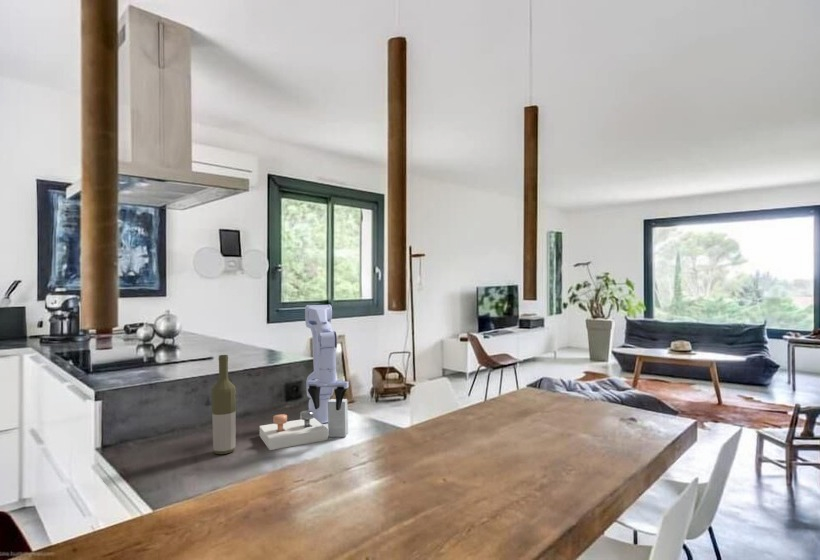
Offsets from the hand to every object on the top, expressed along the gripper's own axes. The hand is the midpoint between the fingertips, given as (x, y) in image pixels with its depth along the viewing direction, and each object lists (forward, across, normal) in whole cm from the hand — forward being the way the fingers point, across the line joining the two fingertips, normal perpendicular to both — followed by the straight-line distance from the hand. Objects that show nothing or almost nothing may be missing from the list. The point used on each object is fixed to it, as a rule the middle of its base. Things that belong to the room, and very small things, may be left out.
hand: (327, 408), depth 154 cm
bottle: (+10, -27, -17) cm, 34 cm away
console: (+10, -12, -1) cm, 16 cm away
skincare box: (+10, +2, +5) cm, 11 cm away
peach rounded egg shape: (+7, -15, -5) cm, 17 cm away
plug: (+7, -8, +1) cm, 11 cm away
